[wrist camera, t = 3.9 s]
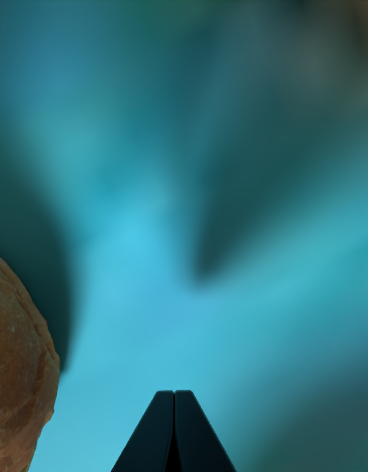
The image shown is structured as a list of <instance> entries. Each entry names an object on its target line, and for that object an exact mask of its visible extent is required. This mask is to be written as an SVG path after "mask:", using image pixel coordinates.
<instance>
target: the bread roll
mask: <svg viewBox="0 0 368 472" xmlns="http://www.w3.org/2000/svg"><path fill="white" fill-rule="evenodd" d="M59 366H60V358H59V355H58V354H57V353H56V351H55V348H54V344H53V340H52V338H51V334H50V333H49V331H48V324H47V320H46V319H45V318H44V317H43V316H42V315H41V313H40V312H39V310H38V309H37V307H36V306H35V305H34V303H33V301H32V299H31V297H30V294H29V293H28V291H27V290H26V288H25V287H24V285H23V283H22V282H21V280H20V279H19V278H18V277H17V275H16V274H15V273H14V272H13V270H12V269H11V268H10V267H9V265H8V264H7V263H6V262H5V261H4V260H3V259H2V258H1V257H0V472H28V470H29V467H30V464H31V461H32V458H33V455H34V452H35V450H36V445H37V440H38V438H39V437H40V434H41V431H42V428H43V427H44V425H45V424H46V423H47V422H48V421H49V420H50V419H51V417H52V415H53V413H54V404H55V400H56V396H57V390H58V383H59V376H60V375H59Z"/></svg>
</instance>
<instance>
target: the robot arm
mask: <svg viewBox="0 0 368 472" xmlns="http://www.w3.org/2000/svg"><path fill="white" fill-rule="evenodd" d="M111 472H237V471H236V469H235V467H234V466H233V464H232V462H231V460H230V458H229V457H228V455H227V453H226V451H225V449H224V448H223V446H222V444H221V442H220V440H219V439H218V437H217V435H216V433H215V431H214V430H213V428H212V426H211V424H210V422H209V421H208V419H207V417H206V415H205V413H204V412H203V410H202V408H201V406H200V404H199V403H198V401H197V399H196V397H195V395H194V393H193V392H192V391H191V390H176V391H175V394H174V392H173V391H172V390H165V391H157V392H156V394H155V395H154V397H153V399H152V401H151V402H150V404H149V406H148V408H147V409H146V411H145V413H144V415H143V416H142V418H141V420H140V421H139V423H138V425H137V427H136V428H135V430H134V432H133V434H132V435H131V437H130V439H129V441H128V442H127V444H126V446H125V448H124V449H123V451H122V453H121V455H120V456H119V458H118V460H117V461H116V463H115V465H114V467H113V468H112V470H111Z"/></svg>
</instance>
